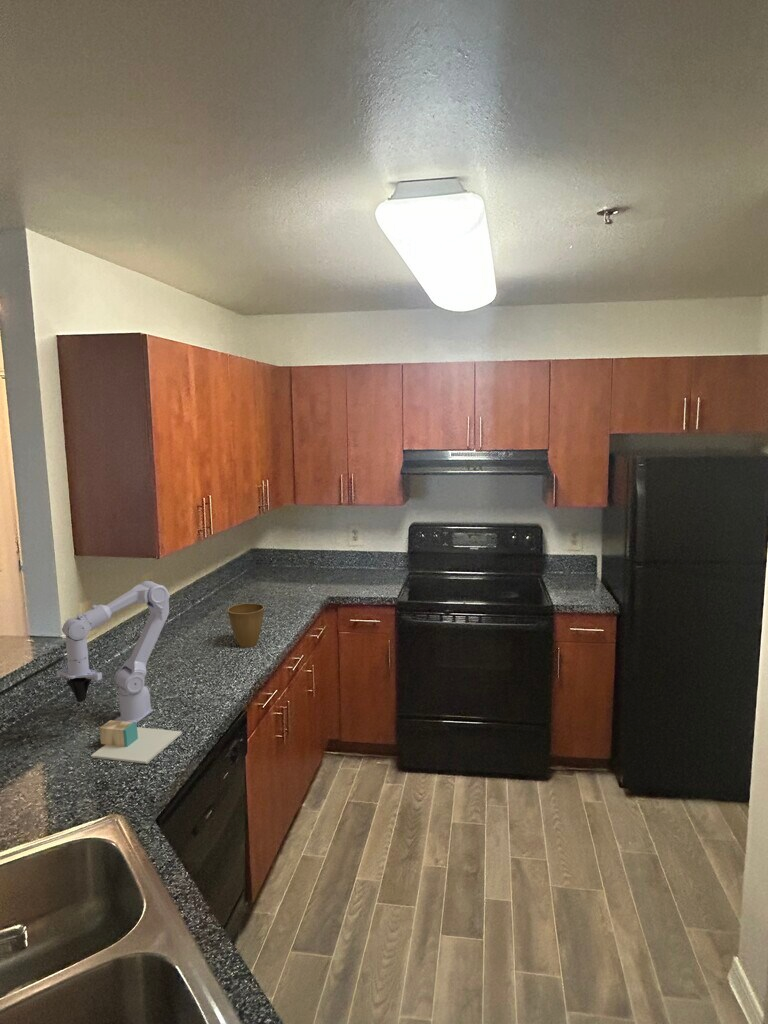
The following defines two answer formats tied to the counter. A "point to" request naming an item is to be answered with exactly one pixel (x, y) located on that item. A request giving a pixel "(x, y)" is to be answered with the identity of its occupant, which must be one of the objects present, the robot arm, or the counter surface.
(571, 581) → the counter surface
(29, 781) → the counter surface
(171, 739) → the board
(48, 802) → the counter surface
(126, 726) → the wooden block
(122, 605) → the robot arm
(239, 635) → the plant pot
